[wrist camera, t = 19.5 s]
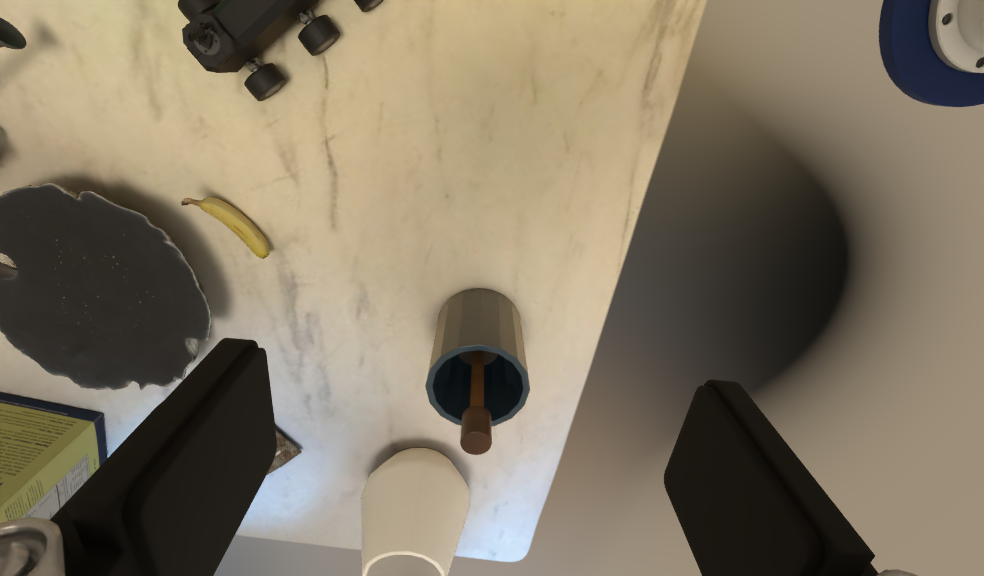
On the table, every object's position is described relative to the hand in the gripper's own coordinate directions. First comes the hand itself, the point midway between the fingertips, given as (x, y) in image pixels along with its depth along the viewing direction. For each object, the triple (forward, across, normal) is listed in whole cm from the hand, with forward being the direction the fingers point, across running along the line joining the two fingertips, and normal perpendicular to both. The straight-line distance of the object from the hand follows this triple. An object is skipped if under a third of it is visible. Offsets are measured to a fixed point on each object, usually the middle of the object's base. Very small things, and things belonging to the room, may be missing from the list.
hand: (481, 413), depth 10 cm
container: (+36, -2, +19) cm, 41 cm away
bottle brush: (+36, -2, +19) cm, 41 cm away
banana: (+36, +23, +10) cm, 44 cm away
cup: (+36, +4, +43) cm, 56 cm away
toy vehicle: (+36, +16, -10) cm, 41 cm away
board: (+36, +36, +18) cm, 54 cm away
